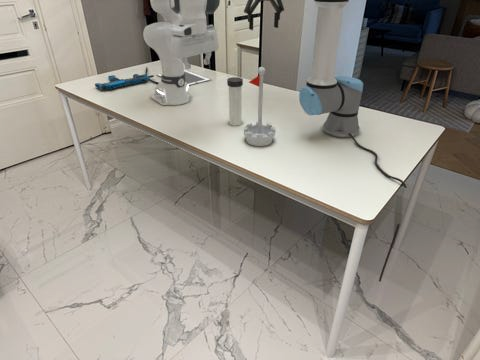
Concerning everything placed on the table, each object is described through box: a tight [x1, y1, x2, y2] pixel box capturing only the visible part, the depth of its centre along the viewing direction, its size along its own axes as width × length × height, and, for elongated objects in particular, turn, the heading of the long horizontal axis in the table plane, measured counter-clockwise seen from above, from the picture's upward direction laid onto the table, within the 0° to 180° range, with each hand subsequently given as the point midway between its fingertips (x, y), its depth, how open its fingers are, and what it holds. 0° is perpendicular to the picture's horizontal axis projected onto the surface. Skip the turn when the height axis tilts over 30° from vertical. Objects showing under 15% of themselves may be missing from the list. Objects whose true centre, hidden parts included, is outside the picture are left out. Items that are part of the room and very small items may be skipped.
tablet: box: [156, 69, 212, 87], centre depth 217 cm, size 32×20×1 cm, turn 41°
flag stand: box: [243, 66, 276, 147], centre depth 134 cm, size 13×13×30 cm
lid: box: [226, 76, 244, 87], centre depth 147 cm, size 7×7×2 cm
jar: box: [228, 86, 242, 127], centre depth 152 cm, size 6×6×20 cm
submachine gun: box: [94, 73, 155, 91], centre depth 208 cm, size 34×4×25 cm
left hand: (197, 66), depth 129 cm, fingers open, 8 cm apart
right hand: (263, 28), depth 163 cm, fingers open, 13 cm apart
